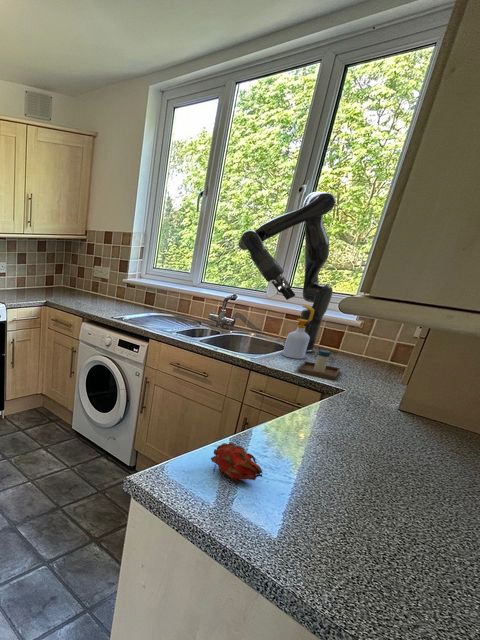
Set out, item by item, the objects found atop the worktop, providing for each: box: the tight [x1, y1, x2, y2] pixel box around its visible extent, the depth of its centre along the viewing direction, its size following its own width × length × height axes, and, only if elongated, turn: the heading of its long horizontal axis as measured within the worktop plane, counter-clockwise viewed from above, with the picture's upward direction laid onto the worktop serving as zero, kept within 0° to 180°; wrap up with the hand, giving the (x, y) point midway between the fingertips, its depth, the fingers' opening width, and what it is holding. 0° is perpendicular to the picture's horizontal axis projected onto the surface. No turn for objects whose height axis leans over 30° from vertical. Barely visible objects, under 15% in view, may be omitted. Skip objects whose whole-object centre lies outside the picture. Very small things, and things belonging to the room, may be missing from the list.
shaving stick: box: [313, 349, 332, 373], centre depth 174 cm, size 4×4×9 cm
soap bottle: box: [282, 304, 315, 360], centre depth 192 cm, size 9×9×25 cm
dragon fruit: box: [210, 442, 263, 484], centre depth 96 cm, size 8×8×12 cm
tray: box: [297, 360, 341, 381], centre depth 175 cm, size 15×13×2 cm
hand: (291, 297), depth 182 cm, fingers open, 8 cm apart
